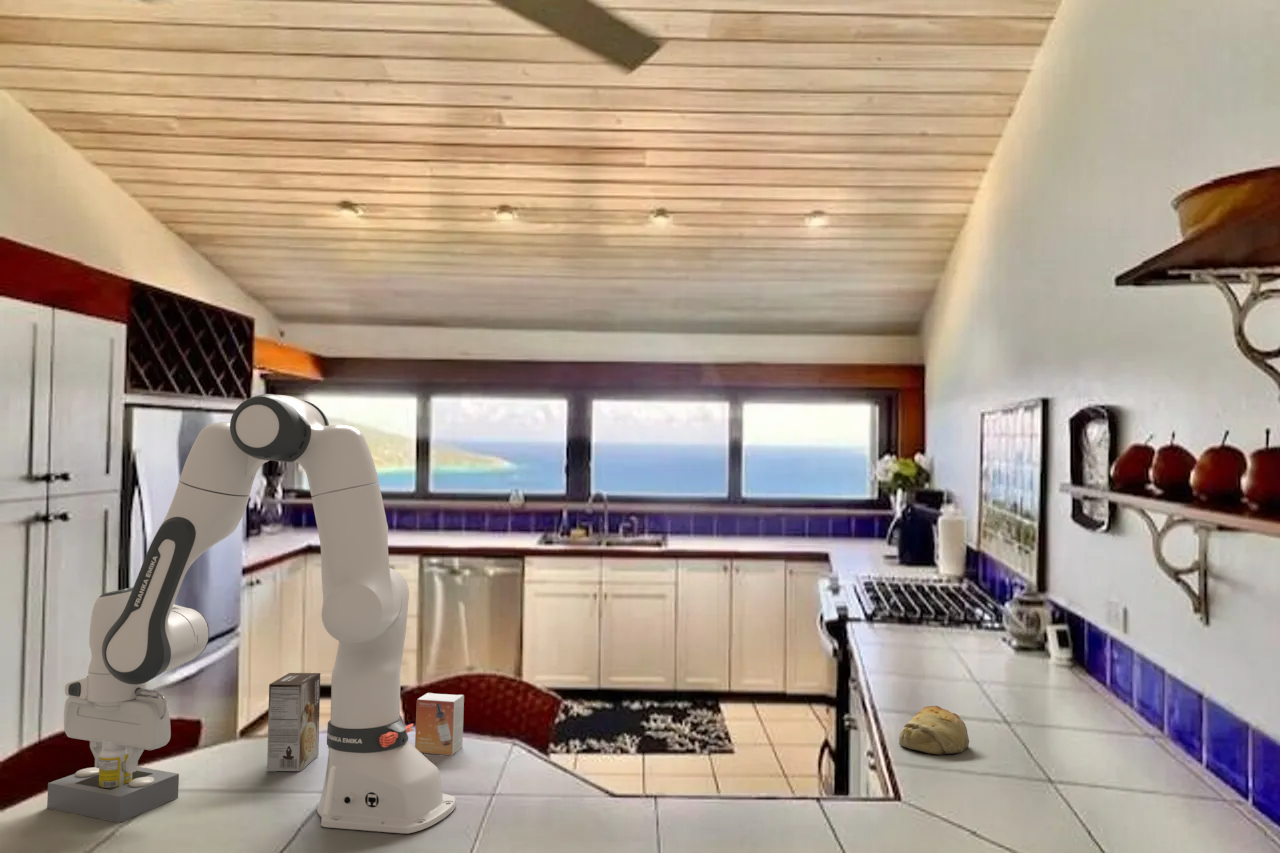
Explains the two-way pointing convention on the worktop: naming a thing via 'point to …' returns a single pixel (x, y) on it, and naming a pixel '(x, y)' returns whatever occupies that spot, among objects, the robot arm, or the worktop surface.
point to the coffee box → (293, 721)
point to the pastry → (935, 732)
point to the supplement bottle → (112, 766)
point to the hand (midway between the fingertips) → (115, 769)
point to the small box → (439, 723)
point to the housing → (112, 794)
